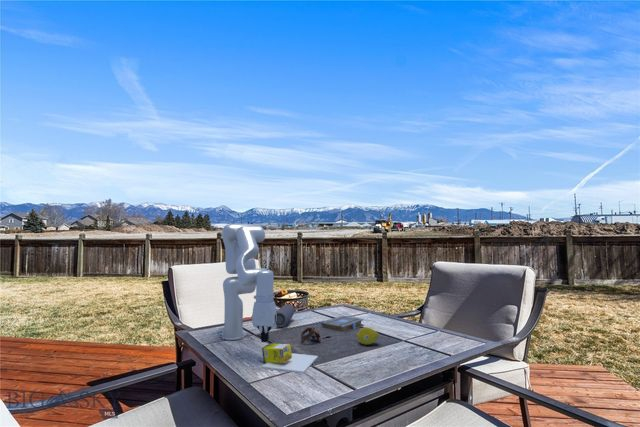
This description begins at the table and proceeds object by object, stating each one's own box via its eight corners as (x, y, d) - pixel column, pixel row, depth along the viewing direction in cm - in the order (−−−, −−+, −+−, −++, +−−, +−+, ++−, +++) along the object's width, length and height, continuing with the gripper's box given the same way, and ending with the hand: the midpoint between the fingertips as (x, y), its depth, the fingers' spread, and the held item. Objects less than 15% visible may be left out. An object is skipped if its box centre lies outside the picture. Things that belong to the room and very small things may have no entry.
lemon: (354, 345, 169) (353, 328, 170) (360, 340, 176) (359, 324, 176) (375, 348, 164) (375, 331, 164) (380, 343, 171) (380, 327, 171)
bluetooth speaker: (280, 319, 221) (280, 303, 222) (295, 319, 220) (295, 303, 220) (270, 329, 199) (271, 311, 199) (286, 329, 197) (286, 311, 198)
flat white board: (262, 368, 141) (262, 366, 141) (280, 353, 158) (280, 352, 158) (303, 373, 135) (303, 371, 135) (317, 357, 152) (317, 355, 152)
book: (341, 322, 215) (341, 314, 215) (364, 326, 205) (364, 317, 205) (320, 329, 199) (320, 320, 199) (344, 334, 188) (344, 325, 188)
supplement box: (263, 362, 146) (284, 363, 141) (261, 347, 147) (282, 349, 142) (271, 356, 152) (292, 358, 146) (270, 342, 152) (290, 343, 147)
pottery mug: (322, 346, 170) (314, 332, 168) (305, 353, 171) (297, 340, 170) (323, 332, 181) (315, 319, 180) (307, 340, 183) (300, 327, 181)
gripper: (245, 299, 150) (245, 342, 149) (276, 301, 146) (276, 345, 145) (253, 296, 158) (253, 337, 156) (283, 298, 153) (283, 340, 152)
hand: (264, 341), depth 151 cm, fingers closed
